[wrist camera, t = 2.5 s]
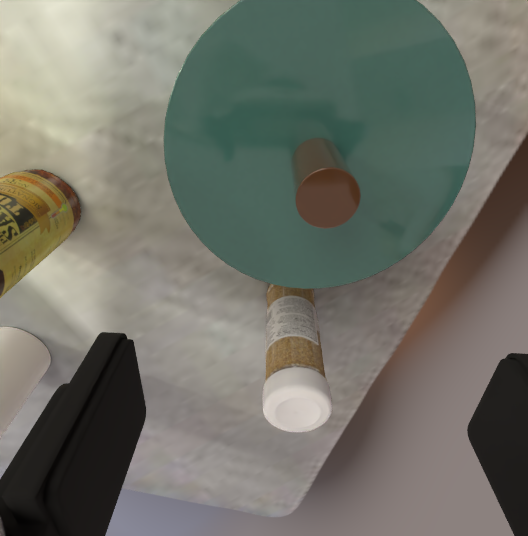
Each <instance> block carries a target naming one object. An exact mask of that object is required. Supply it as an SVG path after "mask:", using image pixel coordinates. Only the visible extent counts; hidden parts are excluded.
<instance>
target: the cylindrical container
mask: <svg viewBox="0 0 528 536" xmlns="http://www.w3.org/2000/svg"><path fill="white" fill-rule="evenodd" d="M50 363H51V356H50V353H49V351H48V349H47V347H46V346H45V345H44V344H43V343H42V342H41V341H40V340H39V339H38V338H36V337H35V336H33V335H32V334H30V333H28V332H26V331H23V330H20V329H17V328H12V327H0V438H1V437H2V435H3V434H4V432H5V431H6V429H7V428H8V427H9V425H10V424H11V422H12V421H13V419H14V418H15V416H16V415H17V413H18V412H19V410H20V409H21V407H22V406H23V405H24V403H25V402H26V400H27V399H28V397H29V396H30V394H31V393H32V391H33V390H34V388H35V387H36V385H37V384H38V382H39V381H40V380H41V378H42V377H43V375H44V374H45V372H46V371H47V369H48V368H49V366H50Z"/></svg>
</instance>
